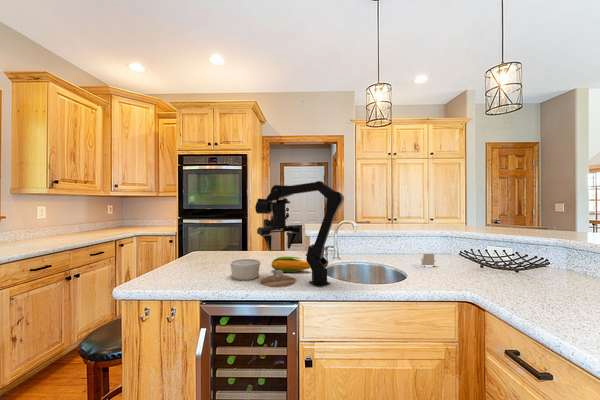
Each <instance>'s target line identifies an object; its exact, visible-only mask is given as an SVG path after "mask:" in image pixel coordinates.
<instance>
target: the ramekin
mask: <svg viewBox="0 0 600 400" xmlns="http://www.w3.org/2000/svg"><path fill="white" fill-rule="evenodd" d="M260 266H261V260H259V259H255V258H239V259H234V260H232V261H230V270H231V276H232V278H233V279H234V280H235V281H236V280H237V281H250V280H253V279H254V280H255V279H256V278H258V276H259V273H260Z"/></svg>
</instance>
